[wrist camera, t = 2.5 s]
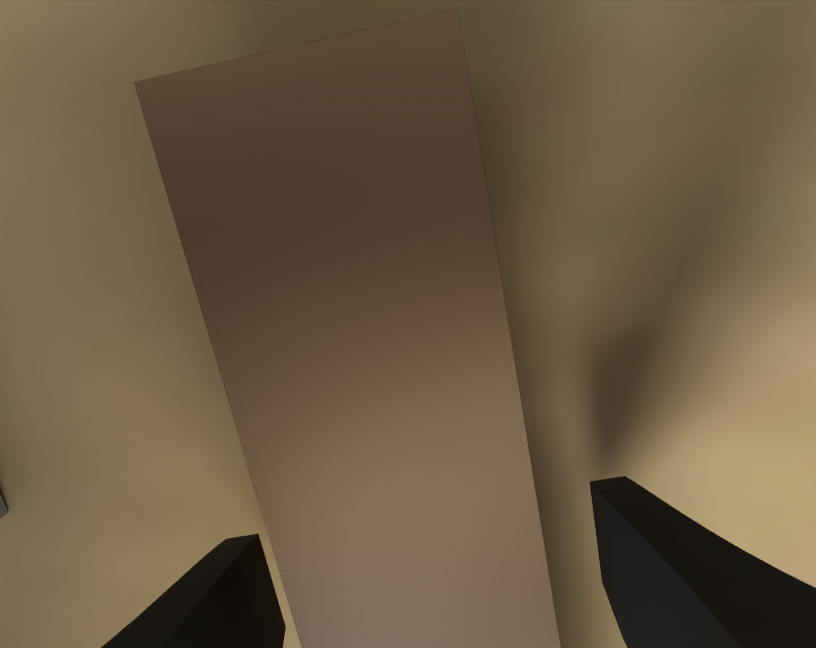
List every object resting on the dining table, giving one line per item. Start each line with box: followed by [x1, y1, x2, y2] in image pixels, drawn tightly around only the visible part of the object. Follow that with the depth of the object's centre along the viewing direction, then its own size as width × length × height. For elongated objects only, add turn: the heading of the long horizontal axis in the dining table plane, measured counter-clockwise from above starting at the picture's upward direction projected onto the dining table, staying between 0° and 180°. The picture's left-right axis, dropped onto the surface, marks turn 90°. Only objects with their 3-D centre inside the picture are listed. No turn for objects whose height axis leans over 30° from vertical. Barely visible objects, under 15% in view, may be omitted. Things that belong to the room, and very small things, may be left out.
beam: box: [134, 9, 561, 648], centre depth 10 cm, size 16×4×4 cm, turn 11°
